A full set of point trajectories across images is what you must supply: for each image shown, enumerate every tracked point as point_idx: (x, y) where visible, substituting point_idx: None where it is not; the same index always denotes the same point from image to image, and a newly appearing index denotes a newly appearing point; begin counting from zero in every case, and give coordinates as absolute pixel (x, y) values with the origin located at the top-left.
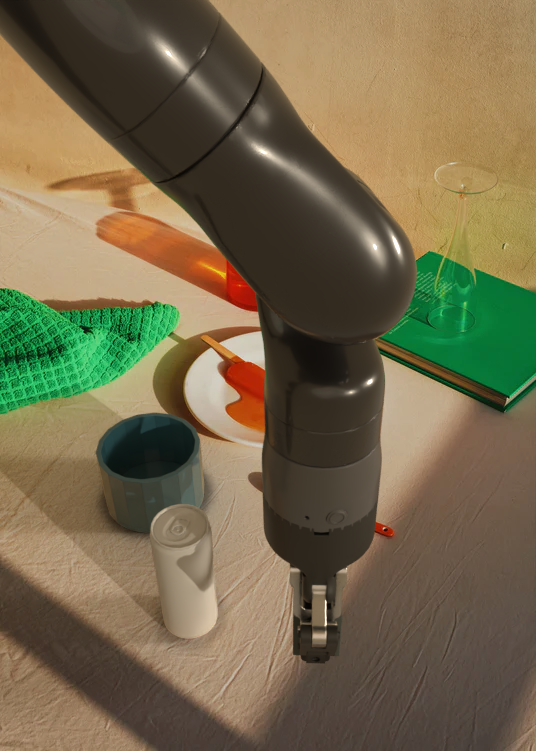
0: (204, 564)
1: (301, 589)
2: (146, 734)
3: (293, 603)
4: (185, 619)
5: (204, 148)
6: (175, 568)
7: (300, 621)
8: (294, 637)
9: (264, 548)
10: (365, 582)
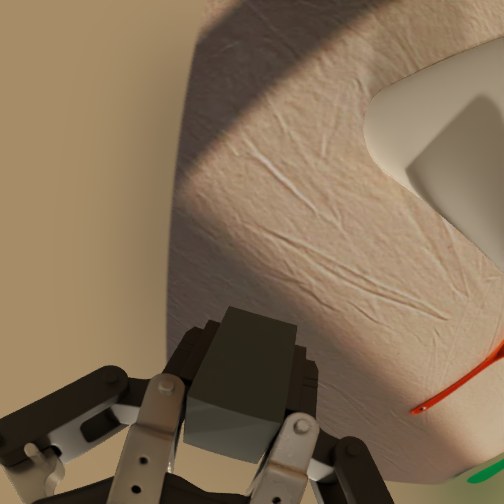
0: (458, 217)
1: (258, 428)
2: (210, 40)
3: (121, 455)
4: (376, 113)
5: None
6: (463, 89)
7: (28, 455)
8: (211, 343)
9: (481, 282)
10: (370, 381)
